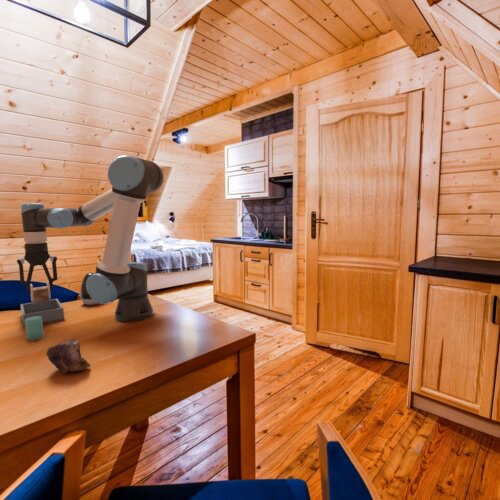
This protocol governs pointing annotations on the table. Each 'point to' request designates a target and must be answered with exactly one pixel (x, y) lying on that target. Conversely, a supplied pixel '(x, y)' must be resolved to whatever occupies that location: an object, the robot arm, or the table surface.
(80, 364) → the rock
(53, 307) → the tote
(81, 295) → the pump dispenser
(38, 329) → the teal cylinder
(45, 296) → the walnut cube
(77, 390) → the table surface
